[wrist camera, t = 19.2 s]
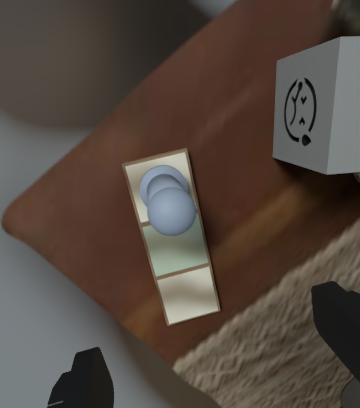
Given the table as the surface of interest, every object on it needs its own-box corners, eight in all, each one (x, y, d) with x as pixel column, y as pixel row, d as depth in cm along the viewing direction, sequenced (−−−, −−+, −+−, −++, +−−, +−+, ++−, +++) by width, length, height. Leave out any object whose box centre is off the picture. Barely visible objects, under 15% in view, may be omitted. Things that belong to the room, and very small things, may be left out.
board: (218, 306, 38) (220, 311, 37) (166, 321, 38) (167, 326, 37) (185, 147, 32) (187, 148, 31) (121, 163, 31) (121, 164, 30)
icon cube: (353, 151, 35) (435, 165, 25) (272, 157, 33) (326, 174, 24) (365, 57, 32) (463, 33, 22) (276, 60, 30) (340, 36, 21)
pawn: (190, 204, 33) (212, 241, 23) (146, 215, 32) (150, 257, 23) (180, 160, 31) (200, 180, 22) (134, 171, 31) (133, 197, 21)
